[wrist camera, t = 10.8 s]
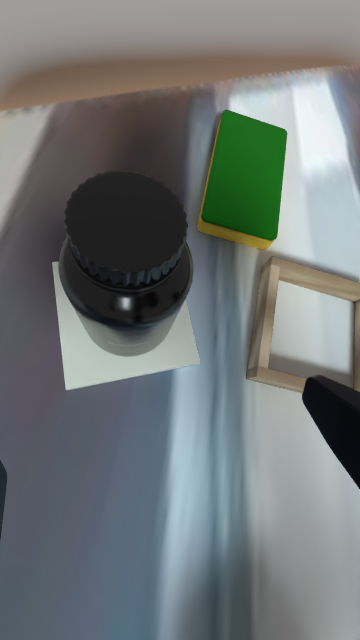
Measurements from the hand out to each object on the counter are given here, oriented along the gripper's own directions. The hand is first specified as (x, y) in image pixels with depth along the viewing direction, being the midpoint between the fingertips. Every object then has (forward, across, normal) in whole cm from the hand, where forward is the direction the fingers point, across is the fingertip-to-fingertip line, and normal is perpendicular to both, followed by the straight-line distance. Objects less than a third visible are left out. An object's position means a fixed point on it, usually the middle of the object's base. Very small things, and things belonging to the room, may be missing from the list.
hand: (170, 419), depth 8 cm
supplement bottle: (+14, 0, +4) cm, 15 cm away
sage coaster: (+15, 0, +4) cm, 16 cm away
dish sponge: (+24, -14, -4) cm, 28 cm away
